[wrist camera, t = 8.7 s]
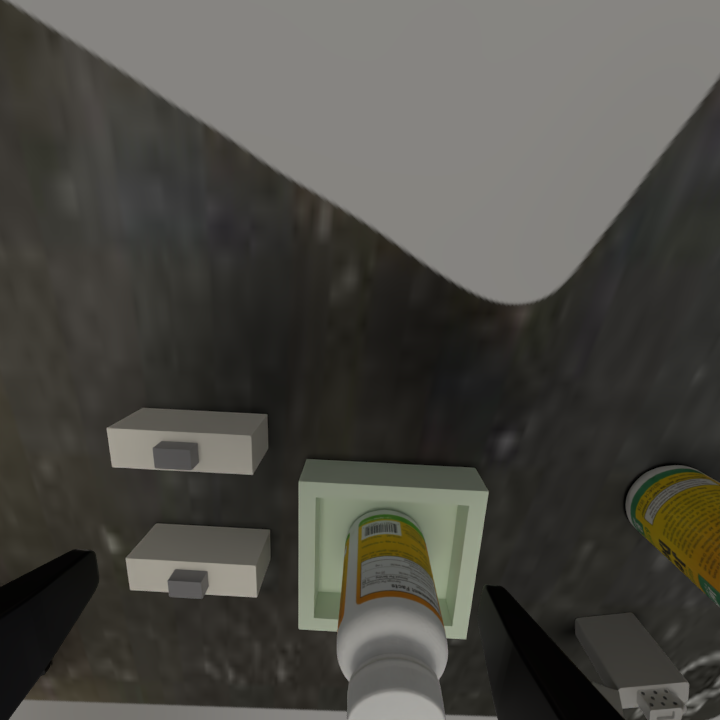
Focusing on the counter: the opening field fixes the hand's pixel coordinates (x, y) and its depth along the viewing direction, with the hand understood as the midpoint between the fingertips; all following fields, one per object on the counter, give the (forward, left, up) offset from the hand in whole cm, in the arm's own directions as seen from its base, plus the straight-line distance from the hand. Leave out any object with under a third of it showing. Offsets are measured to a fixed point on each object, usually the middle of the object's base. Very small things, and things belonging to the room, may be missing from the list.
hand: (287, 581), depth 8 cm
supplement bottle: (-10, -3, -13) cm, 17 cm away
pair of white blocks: (-7, +8, -13) cm, 17 cm away
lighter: (-17, -19, -14) cm, 29 cm away
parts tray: (-10, -4, -13) cm, 17 cm away
